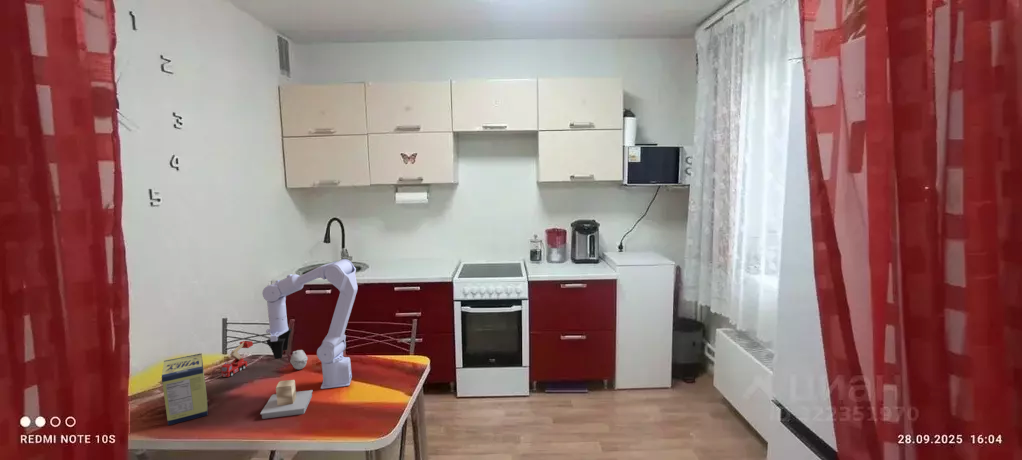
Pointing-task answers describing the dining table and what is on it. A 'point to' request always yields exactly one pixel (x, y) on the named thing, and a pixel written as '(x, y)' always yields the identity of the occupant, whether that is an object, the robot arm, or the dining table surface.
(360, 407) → the dining table surface
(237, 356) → the toy fire truck
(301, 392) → the thin white square tile
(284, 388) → the birch block
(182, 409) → the protein box
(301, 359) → the white rounded lump
